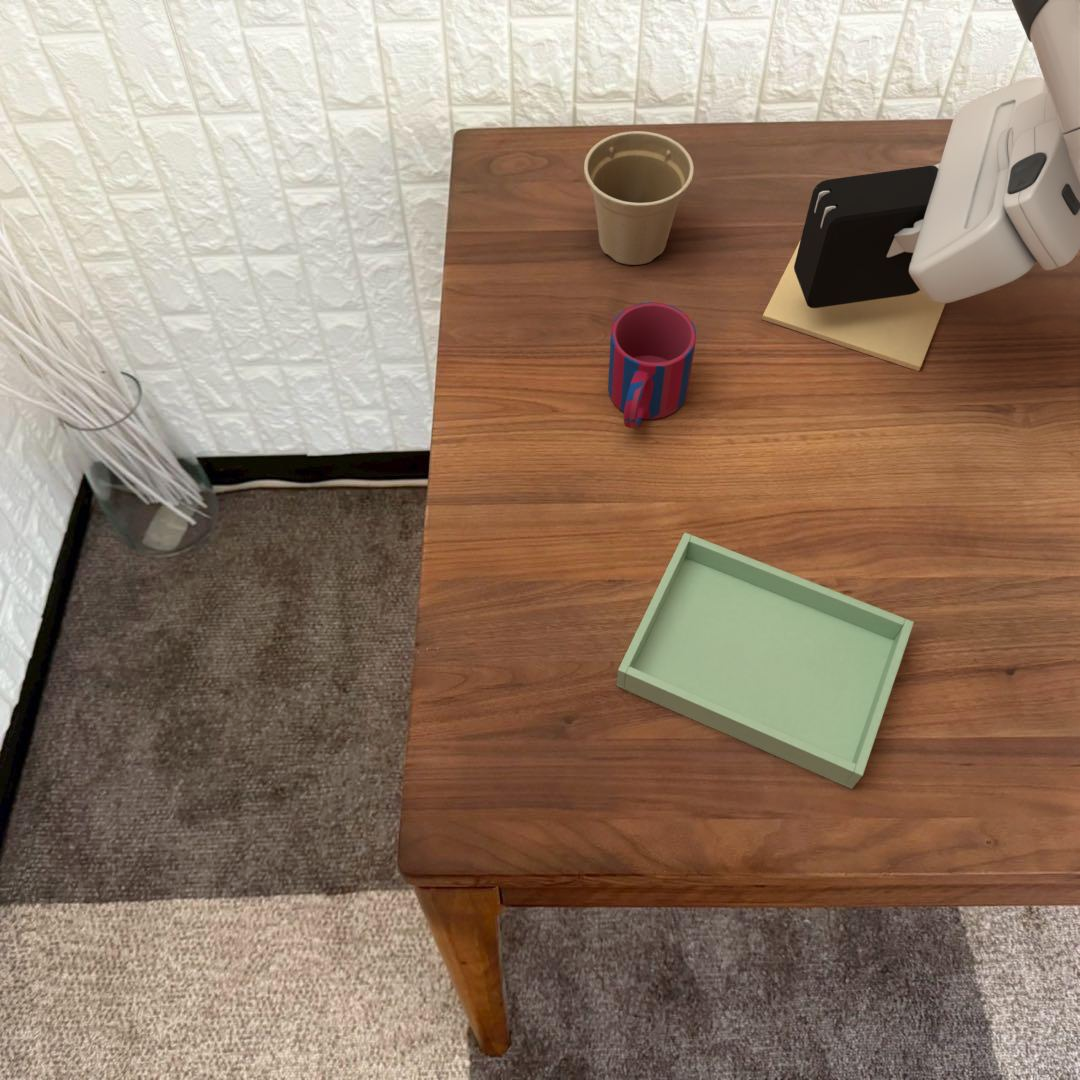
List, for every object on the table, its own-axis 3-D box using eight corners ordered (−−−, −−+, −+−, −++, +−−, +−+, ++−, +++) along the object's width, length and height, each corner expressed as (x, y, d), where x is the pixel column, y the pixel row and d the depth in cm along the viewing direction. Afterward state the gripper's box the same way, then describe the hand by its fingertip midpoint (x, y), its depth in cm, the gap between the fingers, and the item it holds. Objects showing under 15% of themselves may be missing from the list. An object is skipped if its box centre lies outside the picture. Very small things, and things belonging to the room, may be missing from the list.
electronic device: (921, 293, 85) (960, 200, 76) (805, 310, 84) (831, 218, 76) (905, 257, 87) (941, 163, 78) (791, 273, 86) (815, 180, 78)
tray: (902, 639, 73) (914, 621, 71) (852, 789, 68) (862, 776, 65) (680, 551, 77) (684, 531, 75) (615, 686, 72) (617, 669, 69)
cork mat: (954, 277, 91) (957, 273, 91) (918, 371, 86) (921, 367, 85) (805, 232, 94) (806, 227, 94) (761, 319, 89) (762, 315, 89)
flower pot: (701, 261, 93) (713, 185, 85) (608, 292, 91) (611, 216, 84) (656, 197, 97) (664, 119, 90) (566, 225, 96) (566, 148, 88)
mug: (698, 372, 86) (708, 316, 80) (656, 460, 82) (663, 408, 76) (625, 348, 88) (629, 292, 82) (580, 434, 83) (581, 380, 77)
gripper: (1064, 31, 74) (894, 117, 85) (1023, 213, 65) (837, 285, 75) (1100, 98, 77) (931, 174, 88) (1065, 281, 68) (880, 341, 78)
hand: (887, 226), depth 81 cm, fingers closed on electronic device, 3 cm apart
